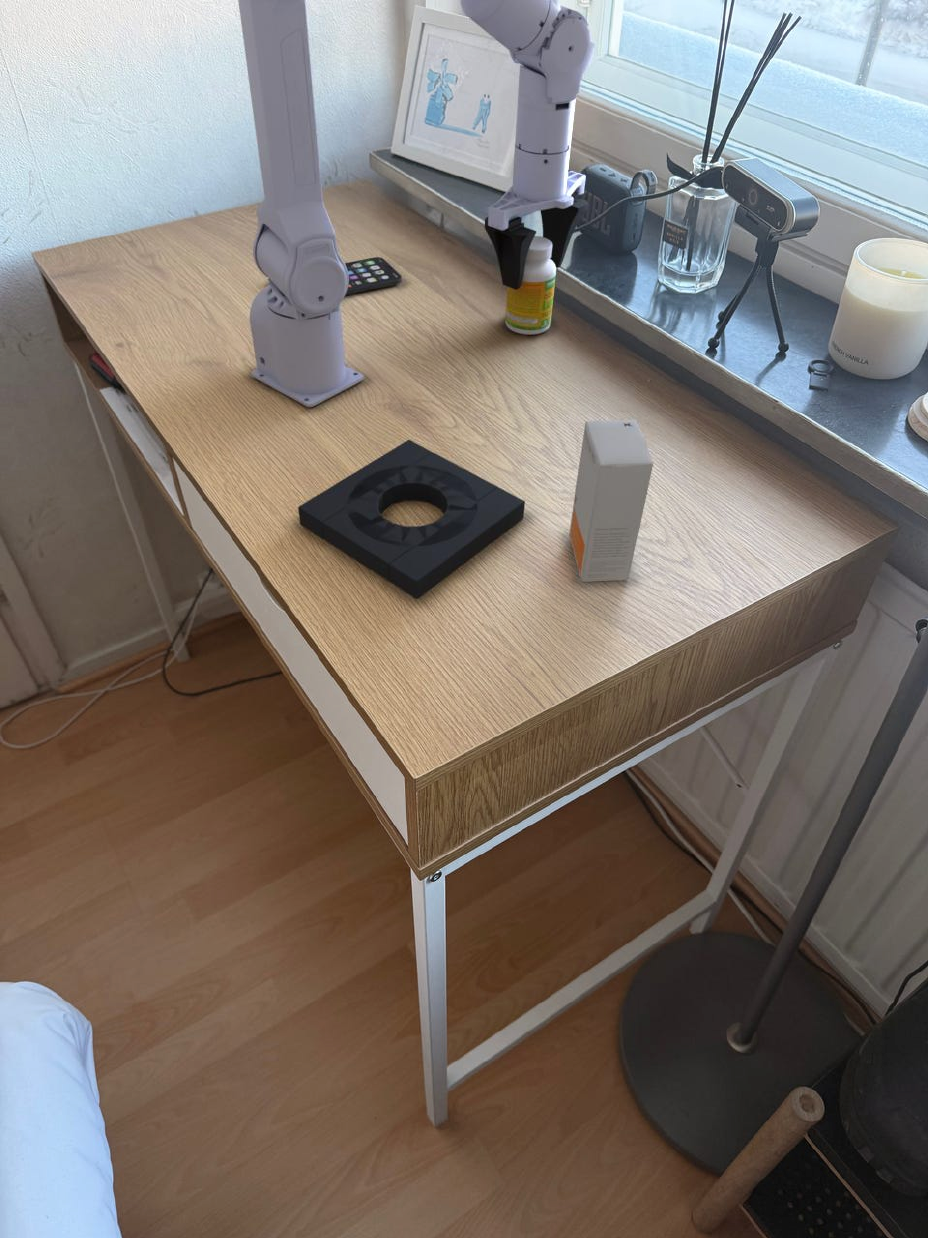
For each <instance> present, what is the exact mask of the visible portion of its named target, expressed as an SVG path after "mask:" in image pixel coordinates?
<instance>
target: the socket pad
mask: <svg viewBox="0 0 928 1238" xmlns="http://www.w3.org/2000/svg"><path fill="white" fill-rule="evenodd" d="M405 501H406V502H407V501H409V502H410V501H420V502H423V503H424V502H425V503H428V504H431V505H433V506H435V507H436V508H439V509H440V510H441V511H442V513H443V515H442V516H441V517H439V518H438V519H437V520H435V521H433V522H431V523H427V524H424V525H418V526H416V525H415V526H414V525H413V526H406V525H402V524H398V523H393V522H392V521H390V520H388V519H387V518H386V517H384V516H383V512H384V511H385V510H386V509H388V508H390V507H391V506H393V505H395V504H398V503H402V502H405ZM525 504H526V501H525V500H524V499H521V498H519V497H518V496H516V495H514V494H512V493H510V492H508V491H507V490H504V489H503V488H501V487H498V486H497V485H496V484H493V483H492V482H491V481H488V480H486V479H484V478H482V477H480V476H479V475H477V474H475V473H473V472H471V471H469V470H468V469H465V468H464V467H462V466H459V465H458V464H456V463H454V462H453V461H450V460H448V459H447V458H445V457H443V456H441V455H439V454H437V453H435V452H433V451H432V450H430V449H428V448H426V447H424V446H422V445H420V444H419V443H417V442H415V441H413V440H411V439H407V440H406V441H404V442H402V443H400V444H399V445H397V446H396V447H394V448H392V449H391V450H389V451H387V452H386V453H385V454H382V455H381V456H379V457H378V458H376V459H374V460H373V461H371V462H370V463H368V464H366V465H364V466H363V467H361V468H360V469H358V470H357V471H354V472H353V473H352V474H350V475H348V476H347V477H345V478H343V479H342V480H340V481H338V482H337V483H335V484H334V485H332V486H330V487H328V488H327V489H325V490H324V491H322V492H320V493H318V494H317V495H315V496H314V497H312V498H310V499H309V500H307V501H305V502H304V503H302V504H301V505H299V506H298V507H297V511H298V516H299V524H300V526H302V527H303V528H305V529H307V531H310V532H311V533H312V534H314V535H316V536H317V537H319V538H320V539H322V540H323V541H325V542H326V543H328V544H330V545H332V546H333V547H335V548H336V549H338V550H339V551H341V552H342V553H344V554H345V555H347V556H349V557H350V558H352V559H353V560H355V561H356V562H358V563H360V564H361V565H363V566H364V567H366V568H367V569H369V570H371V571H372V572H374V573H375V574H376V575H378V576H380V577H382V578H383V579H384V580H386V581H388V582H390V583H391V584H393V586H396V587H397V588H399V589H400V590H402V591H403V592H404V593H406V594H408V595H409V596H411V597H412V598H414V599H416V600H418V599H420V598H421V597H422V596H424V595H425V594H426V593H427V592H429V591H430V590H431V589H433V588H434V587H435V586H437V585H438V584H440V583H441V582H442V581H444V579H446V578H447V577H448V576H450V575H451V574H453V573H454V572H455V571H456V570H458V569H459V568H460V567H462V566H463V565H464V564H465V563H467V562H468V561H469V560H471V559H472V558H474V557H475V556H476V555H477V554H479V553H480V552H481V551H483V550H484V549H485V548H487V547H488V546H490V545H491V544H492V543H494V541H496V540H497V539H498V538H500V537H501V536H502V535H504V534H505V533H506V532H508V531H509V530H510V529H512V528H513V527H515V525H517V524H519V522H521V521H522V520H523V519H524V517H525Z"/></svg>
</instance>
